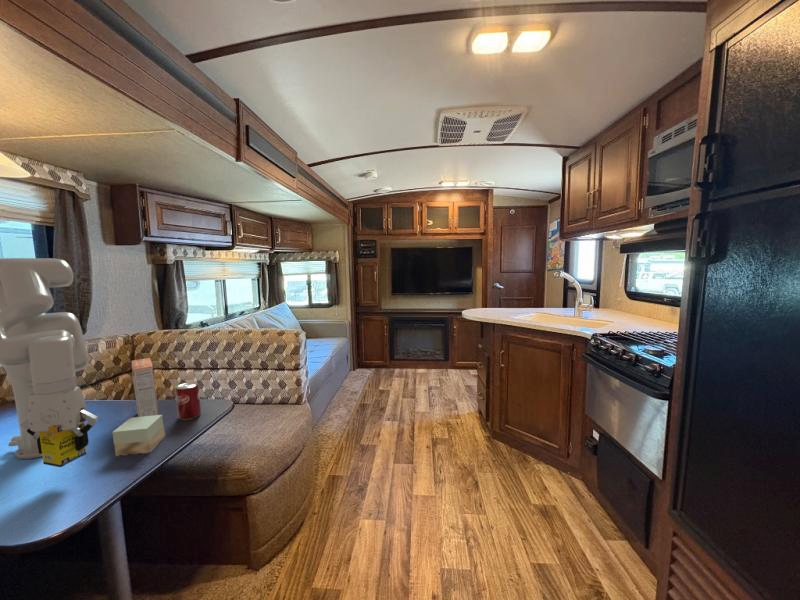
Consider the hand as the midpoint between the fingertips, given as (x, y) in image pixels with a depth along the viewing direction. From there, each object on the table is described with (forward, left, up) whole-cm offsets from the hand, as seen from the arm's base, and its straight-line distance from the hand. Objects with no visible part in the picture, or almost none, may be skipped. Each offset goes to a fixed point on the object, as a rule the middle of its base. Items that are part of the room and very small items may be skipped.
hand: (64, 448), depth 85 cm
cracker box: (+1, +35, -9) cm, 37 cm away
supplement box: (0, 0, -3) cm, 3 cm away
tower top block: (+9, +14, -5) cm, 18 cm away
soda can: (+16, +33, -9) cm, 38 cm away
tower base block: (+10, +15, -9) cm, 20 cm away
